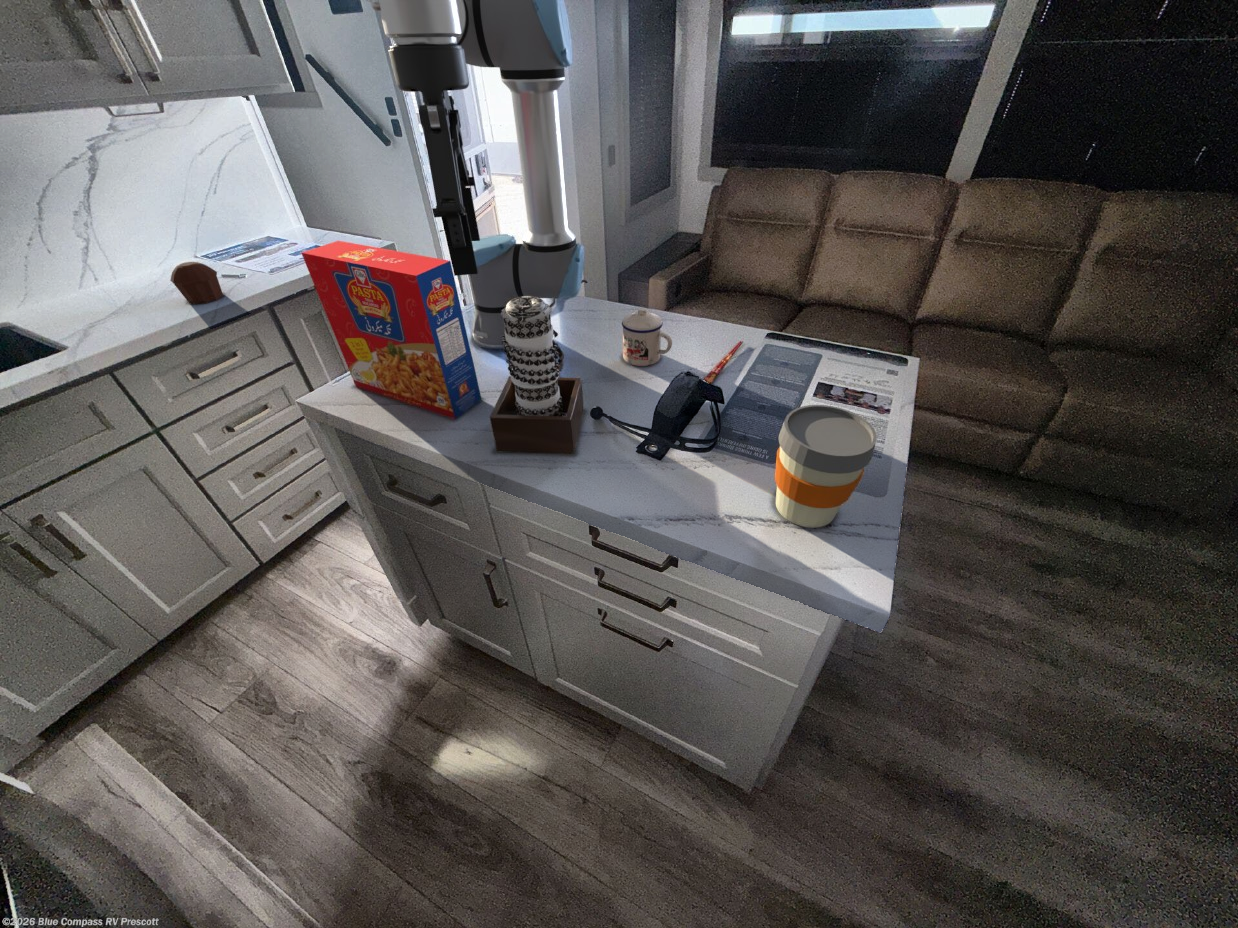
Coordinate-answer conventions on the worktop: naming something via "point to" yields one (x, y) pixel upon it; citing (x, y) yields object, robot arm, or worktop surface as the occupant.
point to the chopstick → (721, 365)
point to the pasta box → (397, 324)
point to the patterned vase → (532, 356)
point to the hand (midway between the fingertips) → (468, 256)
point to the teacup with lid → (643, 338)
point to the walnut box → (538, 422)
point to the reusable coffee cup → (820, 462)
